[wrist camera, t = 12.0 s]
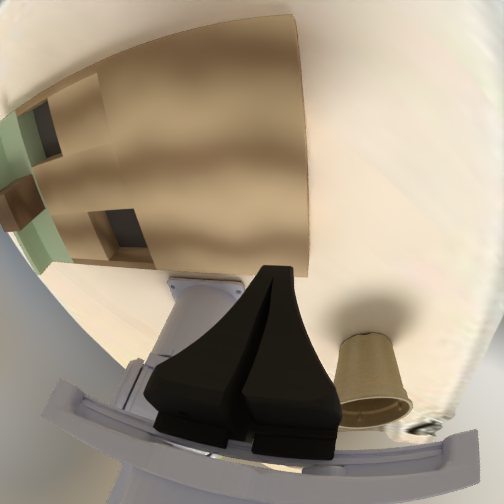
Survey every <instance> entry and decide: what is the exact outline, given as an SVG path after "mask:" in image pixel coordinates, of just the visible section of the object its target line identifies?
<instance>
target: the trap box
mask: <svg viewBox="0 0 504 504" xmlns="http://www.w3.org/2000/svg"><path fill="white" fill-rule="evenodd" d="M30 174H32V175H33V178H34V181H35V183H36V186H37V188H38V191H39V194H40V196H41V198H42V201H43V203H44V206H45V208H46V209H45V210H43V211H42V212H41V213H40V214H39V215H38V216H37V217H35V218H34V219H33V220H32V221H31V222H30V223H29V224H28V225H27V226H25V227H24V228H23V229H22V230H21V231H14V232H13V233H14V235H15V236H16V238H17V240H18V242H19V244H20V246H21V248H22V250H23V252H24V253H25V255H26V257H27V259H28V261H29V262H30V264H31V266H32V267H33V269H34V271H35V272H36V274H38V275H41V274H42V273H43V272H44V270H45V269H46V268H47V267H48V266H49V265H50V264H51V262H52V261H53V262H64V263H75V264H87V265H99V266H112V267H125V268H139V269H153V270H168V271H184V272H201V273H219V274H239V275H256V274H257V273H258V271H259V270H260V268H261V267H262V266H263V265H280V266H292V267H293V268H294V277H308V266H309V193H308V164H307V143H306V126H305V111H304V98H303V86H302V75H301V65H300V55H299V46H298V38H297V30H296V22H295V19H294V16H293V14H290V15H276V16H265V17H256V18H248V19H241V20H235V21H229V22H223V23H218V24H213V25H208V26H204V27H199V28H195V29H191V30H187V31H183V32H180V33H176V34H172V35H169V36H166V37H162V38H159V39H156V40H153V41H150V42H147V43H144V44H141V45H138V46H136V47H133V48H130V49H128V50H125V51H123V52H120V53H118V54H115V55H113V56H111V57H108V58H106V59H104V60H101V61H99V62H97V63H95V64H93V65H91V66H89V67H87V68H85V69H83V70H81V71H79V72H77V73H75V74H73V75H71V76H69V77H67V78H65V79H64V80H62V81H60V82H58V83H56V84H55V85H53V86H51V87H50V88H48V89H46V90H45V91H43V92H41V93H40V94H38V95H37V96H35V97H34V98H32V99H31V100H29V101H28V102H26V103H25V104H23V105H22V106H20V107H19V108H17V109H16V110H15V111H13V112H12V113H10V114H9V115H8V116H6V117H5V118H4V119H3V120H1V121H0V191H1V190H2V189H3V188H5V187H6V186H7V185H9V184H10V183H11V182H13V181H14V180H16V179H19V178H22V177H25V176H27V175H30Z"/></svg>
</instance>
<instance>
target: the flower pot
mask: <svg viewBox="0 0 504 504" xmlns="http://www.w3.org/2000/svg"><path fill="white" fill-rule="evenodd" d="M334 386H335V387H336V391H337V394H338V397H339V400H340V403H341V408H342V421H341V423H340V425H339V427H343V428H353V429H358V428H371V427H378V426H382V425H386V424H390V423H392V422H395V421H397V420H399V419H401V418H403V417H405V416H406V415H408V414H409V413H410V412H411V410H412V408H413V404H412V401H411V400H410V399H408V396H407V392H406V390H405V389H404V388H403V384H402V381H401V377H400V373H399V369H398V365H397V362H396V358H395V354H394V350H393V346H392V343H391V341H390V339H389V338H387V337H386V336H384V335H381V334H378V333H370V334H368V335H359V334H358V335H355V336H353V337H351V338H349V339H347V340H346V341H345V342H344V343H343V344H342V345H341V347H340V350H339V358H338V364H337V369H336V374H335V379H334Z"/></svg>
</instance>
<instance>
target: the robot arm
mask: <svg viewBox="0 0 504 504" xmlns="http://www.w3.org/2000/svg"><path fill="white" fill-rule="evenodd" d="M167 283H168V285H169V288H170V290H171V293H172V295H173V297H174V300H175V302H176V303H175V305H174V307H173V309H172V311H171V313H170V315H169V317H168V319H167V321H166V323H165V325H164V327H163V329H162V331H161V333H160V335H159V337H158V340H157V342H156V344H155V346H154V348H153V350H152V352H151V353H150V354H149V356H148V359H147V361H146V363H145V364H143V362H144V360H142V359H140V358H137V360H132V361H130V363H129V364H128V366H127V368H126V370H125V371H124V373H123V375H122V378H121V380H120V382H119V384H118V386H117V388H116V391H115V393H114V395H113V397H112V400H111V402H110V404H107V403H105V402H102V401H100V400H98V399H95V398H93V397H91V396H88V395H86V394H84V392H83V391H82V390H81V389H80V388H78V387H77V386H75V385H74V384H72V383H70V382H68V381H66V380H64V379H61V378H60V379H59V381H58V382H57V384H56V386H55V388H54V390H53V392H52V394H51V395H50V398H49V399H48V401H47V403H46V405H45V407H44V409H43V411H42V413H41V416H42V417H44V418H45V419H47V420H48V421H50V422H51V423H52V424H54V425H56V426H57V427H59V428H60V429H62V430H63V431H65V432H66V433H68V434H70V435H71V436H73V437H75V438H77V439H78V440H80V441H82V442H84V443H85V444H87V445H89V446H91V447H93V448H94V449H96V450H98V451H100V452H102V453H104V454H106V455H108V456H110V457H112V458H114V459H116V460H118V461H120V463H121V467H120V469H119V471H118V474H117V476H116V479H115V481H114V483H113V486H112V488H111V491H110V493H109V496H108V498H107V501H106V503H105V504H396V503H402V502H408V501H414V500H420V499H425V498H429V497H434V496H438V495H442V494H446V493H450V492H454V491H457V490H460V489H464V488H467V487H470V486H473V485H476V484H478V483H479V482H480V459H479V458H480V457H479V441H478V430H476V429H474V430H470V431H466V432H461V433H457V434H453V435H450V436H448V437H447V438H445V439H444V440H443V441H440V442H434V443H428V444H421V445H414V446H406V447H397V448H385V449H368V450H335V443H336V439H337V432H338V427H339V425H340V423H341V421H342V408H341V403H340V400H339V397H338V394H337V391H336V387H335V386H334V384H333V382H332V381H331V379H330V378H329V376H328V374H327V373H326V371H325V369H324V367H323V366H322V364H321V362H320V360H319V358H318V356H317V354H316V352H315V350H314V348H313V346H312V344H311V341H310V339H309V337H308V334H307V332H306V329H305V327H304V324H303V321H302V318H301V315H300V311H299V308H298V304H297V300H296V296H295V291H294V268H293V267H292V266H280V265H263V266H262V267H261V268H260V270H259V271H258V273H257V274H256V276H255V278H254V279H253V280H252V282H251V283H250V285H249V286H248V288H247V289H246V290H244V285H243V284H242V283H240V282H232V281H216V280H200V279H186V278H172V277H171V278H169V279H168V280H167ZM238 290H240V291H238ZM253 439H254V440H253ZM252 442H253V443H252ZM220 456H226V457H231V458H237V459H242V460H248V461H254V462H261V463H269V464H278V465H287V466H300V467H305V468H303V469H302V474H301V473H292V472H285V471H278V470H271V469H266V468H260V467H254V466H249V465H244V464H239V463H234V462H230V461H225V460H220V459H218V458H219V457H220Z"/></svg>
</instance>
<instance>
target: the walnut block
mask: <svg viewBox="0 0 504 504" xmlns="http://www.w3.org/2000/svg"><path fill="white" fill-rule="evenodd" d="M45 209H46V208H45V206H44V203H43V201H42V198H41V196H40V194H39V191H38V188H37V186H36V183H35V181H34V178H33V175H32V174H30V175H27V176H25V177H22V178H19V179H16V180H14V181H13V182H11V183H10V184H9V185H7V186H6V187H5V188H3V189H2V190H1V191H0V223H1V225H2V227H3V230H4V231H5V232H14V231H21V230H22V229H23V228H24V227H25V226H27V225H28V224H29V223H30V222H31V221H32V220H33V219H34V218H35V217H37V216H38V215H39V214H40V213H41V212H42V211H43V210H45Z"/></svg>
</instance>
